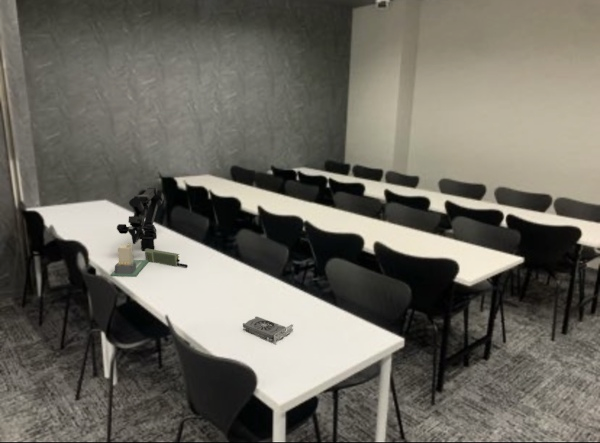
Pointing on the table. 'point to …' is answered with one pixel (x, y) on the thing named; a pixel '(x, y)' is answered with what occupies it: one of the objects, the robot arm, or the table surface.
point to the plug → (125, 254)
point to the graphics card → (267, 329)
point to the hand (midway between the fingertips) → (133, 243)
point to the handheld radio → (163, 257)
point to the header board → (129, 268)
